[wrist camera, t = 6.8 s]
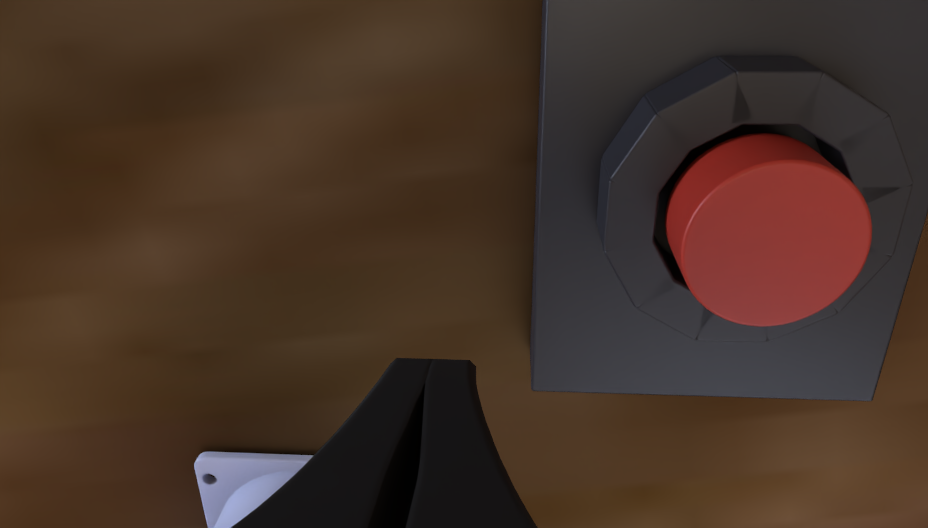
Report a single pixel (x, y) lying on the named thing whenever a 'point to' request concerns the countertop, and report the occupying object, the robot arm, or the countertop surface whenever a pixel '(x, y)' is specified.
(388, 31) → the countertop surface
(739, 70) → the control block
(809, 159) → the red push button
